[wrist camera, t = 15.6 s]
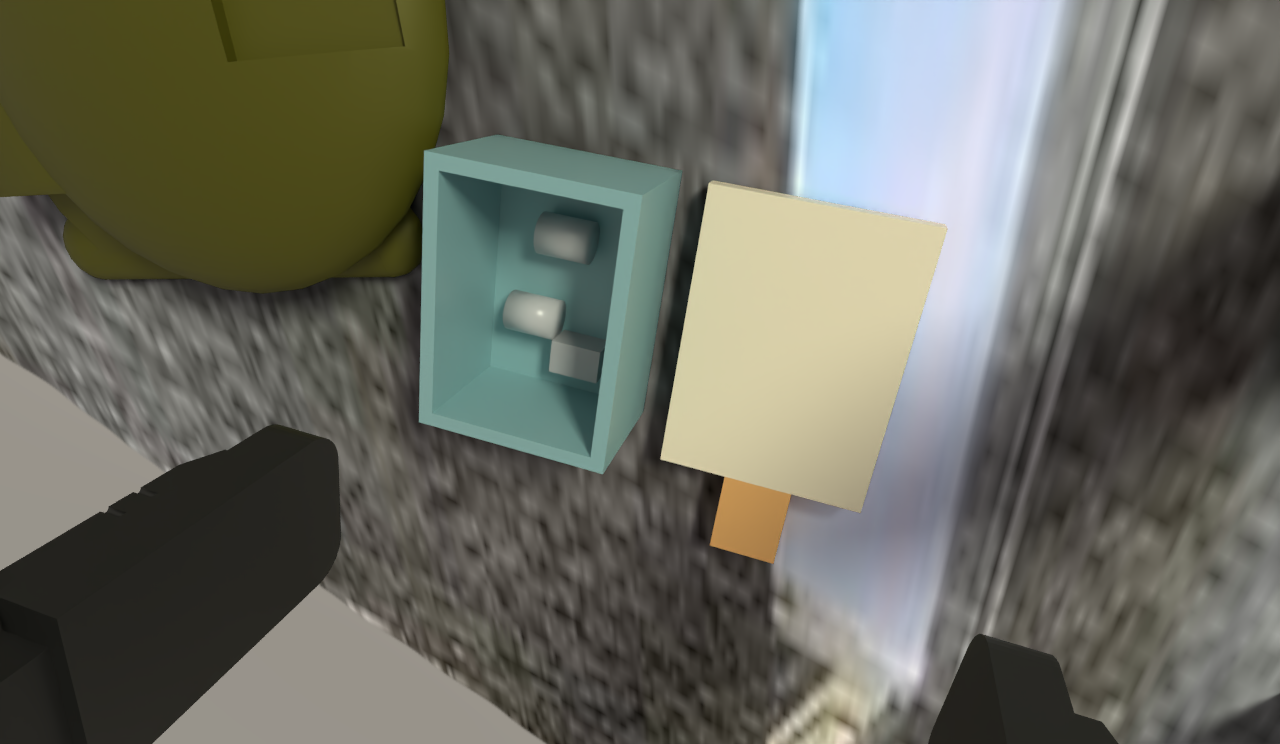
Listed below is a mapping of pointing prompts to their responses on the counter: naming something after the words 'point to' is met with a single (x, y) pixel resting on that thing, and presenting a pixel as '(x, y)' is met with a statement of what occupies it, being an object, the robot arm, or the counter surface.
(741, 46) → the counter surface
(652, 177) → the tub
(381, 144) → the spaceship
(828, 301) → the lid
